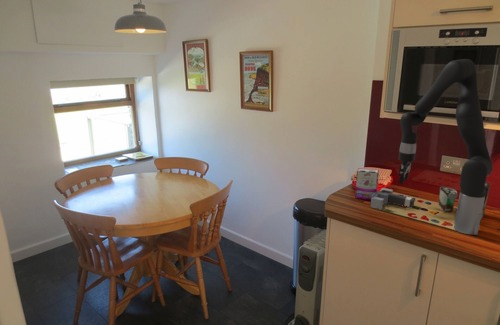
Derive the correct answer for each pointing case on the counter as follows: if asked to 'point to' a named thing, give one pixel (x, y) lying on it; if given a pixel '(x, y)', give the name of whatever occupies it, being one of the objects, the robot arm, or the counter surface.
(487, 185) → the coffee box
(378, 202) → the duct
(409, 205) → the dark grey bar
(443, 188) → the food container
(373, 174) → the candy bar box
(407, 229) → the counter surface
